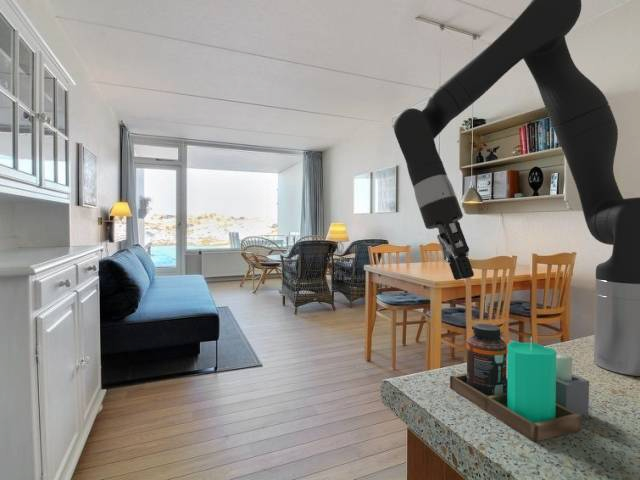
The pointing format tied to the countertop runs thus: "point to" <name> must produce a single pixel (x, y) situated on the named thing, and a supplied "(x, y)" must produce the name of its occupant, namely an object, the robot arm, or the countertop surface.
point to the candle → (531, 381)
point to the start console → (573, 395)
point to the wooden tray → (497, 407)
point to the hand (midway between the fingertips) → (464, 278)
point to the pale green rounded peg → (563, 368)
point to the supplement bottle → (487, 360)
